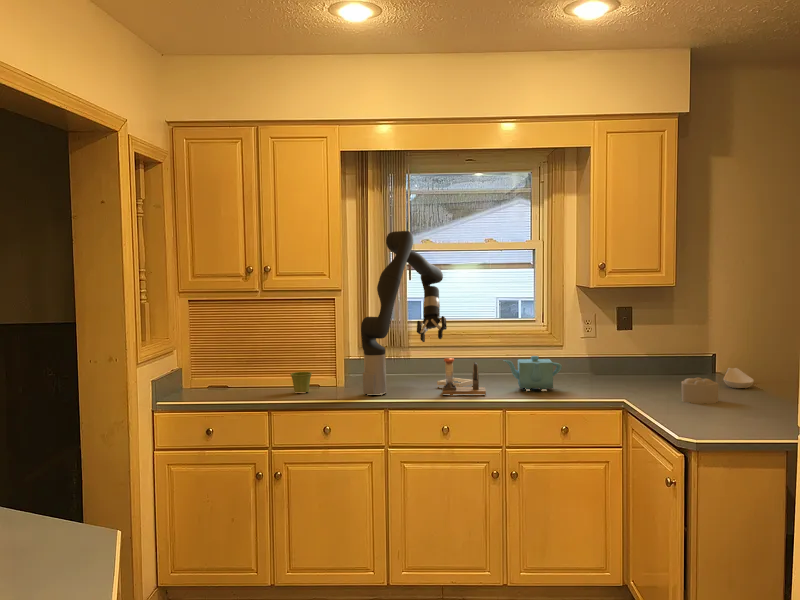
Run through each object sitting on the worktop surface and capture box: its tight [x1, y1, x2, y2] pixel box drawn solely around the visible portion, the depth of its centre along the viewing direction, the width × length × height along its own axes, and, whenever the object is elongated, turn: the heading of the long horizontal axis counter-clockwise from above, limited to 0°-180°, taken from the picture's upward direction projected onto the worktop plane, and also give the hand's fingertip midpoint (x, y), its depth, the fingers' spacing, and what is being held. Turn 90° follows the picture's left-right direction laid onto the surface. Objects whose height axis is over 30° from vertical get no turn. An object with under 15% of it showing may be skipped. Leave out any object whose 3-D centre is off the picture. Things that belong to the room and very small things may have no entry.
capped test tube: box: [443, 357, 455, 387], centre depth 303 cm, size 4×4×13 cm
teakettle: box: [503, 355, 563, 390], centre depth 309 cm, size 19×19×15 cm
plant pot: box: [290, 371, 313, 393], centre depth 314 cm, size 9×9×9 cm
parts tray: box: [436, 377, 473, 387], centre depth 321 cm, size 12×12×3 cm
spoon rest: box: [722, 367, 755, 389], centre depth 310 cm, size 24×12×7 cm, turn 167°
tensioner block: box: [441, 361, 487, 395], centre depth 303 cm, size 10×18×13 cm, turn 85°
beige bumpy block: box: [681, 376, 719, 404], centre depth 277 cm, size 10×13×9 cm
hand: (431, 340), depth 329 cm, fingers open, 8 cm apart
